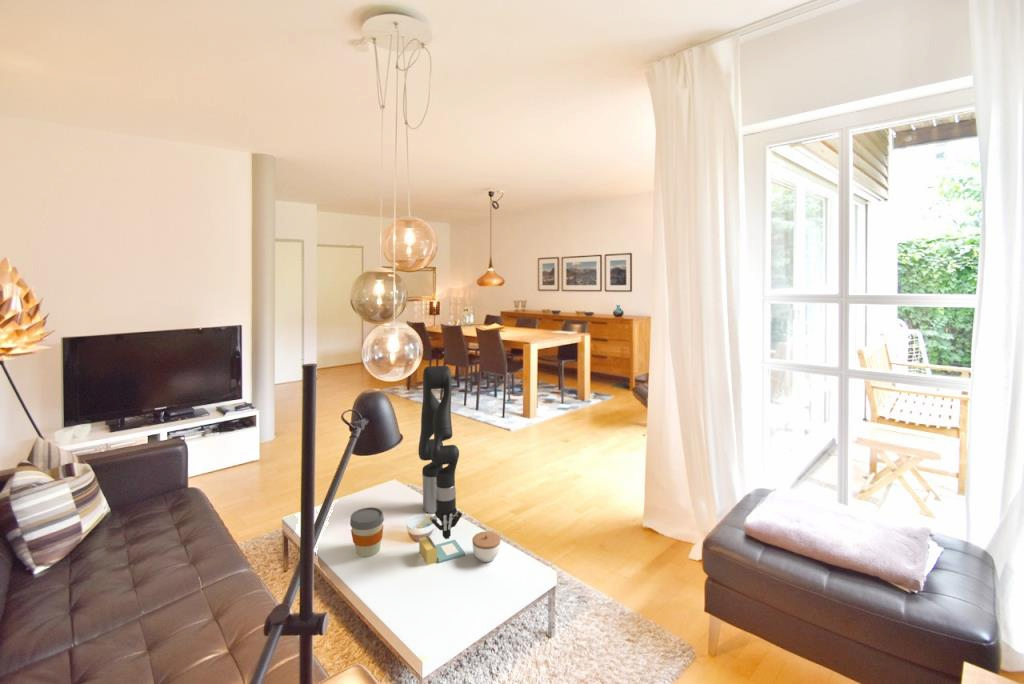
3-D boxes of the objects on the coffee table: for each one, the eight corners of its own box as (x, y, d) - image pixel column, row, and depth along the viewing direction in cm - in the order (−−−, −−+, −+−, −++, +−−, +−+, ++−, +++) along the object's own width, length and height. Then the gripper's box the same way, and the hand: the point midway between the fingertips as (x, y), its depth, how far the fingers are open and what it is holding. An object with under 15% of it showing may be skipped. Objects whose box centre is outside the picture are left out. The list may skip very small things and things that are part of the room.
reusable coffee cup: (376, 561, 184) (374, 524, 182) (345, 558, 186) (343, 521, 184) (389, 543, 196) (388, 508, 194) (361, 540, 198) (359, 505, 196)
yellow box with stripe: (419, 552, 190) (419, 538, 189) (429, 550, 192) (428, 535, 191) (427, 565, 182) (426, 549, 181) (437, 562, 184) (436, 546, 183)
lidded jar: (500, 549, 193) (500, 527, 191) (500, 565, 182) (500, 542, 181) (473, 549, 193) (473, 527, 191) (471, 566, 182) (471, 542, 181)
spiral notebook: (429, 548, 193) (429, 546, 193) (454, 541, 198) (454, 539, 198) (438, 563, 183) (438, 560, 183) (465, 555, 189) (465, 552, 188)
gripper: (458, 488, 193) (458, 529, 196) (426, 495, 187) (427, 537, 189) (465, 496, 187) (466, 538, 189) (432, 503, 181) (433, 547, 183)
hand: (446, 537), depth 189 cm, fingers closed
